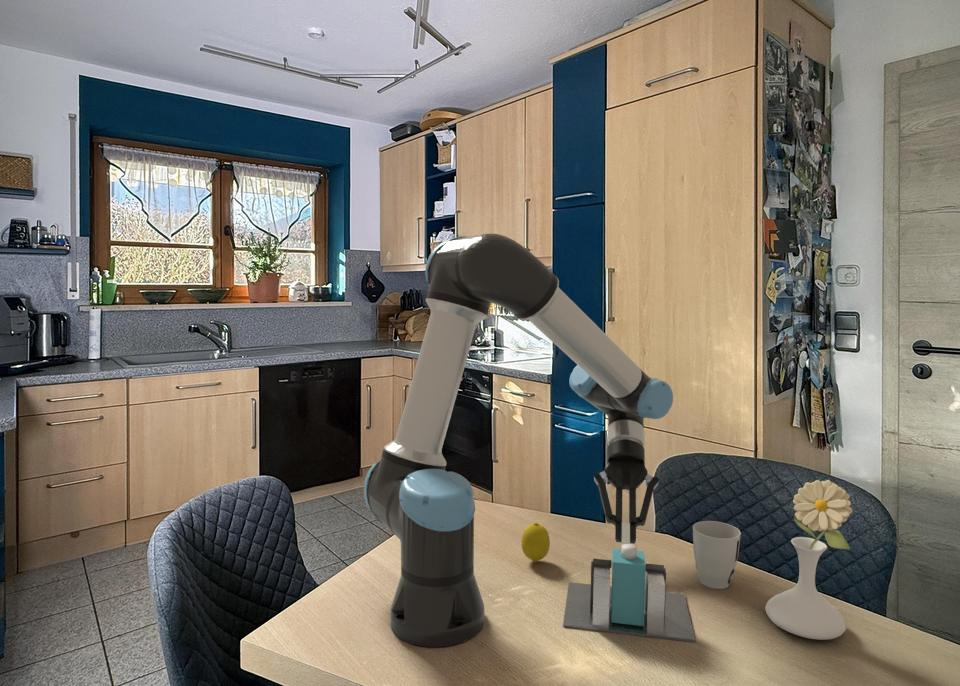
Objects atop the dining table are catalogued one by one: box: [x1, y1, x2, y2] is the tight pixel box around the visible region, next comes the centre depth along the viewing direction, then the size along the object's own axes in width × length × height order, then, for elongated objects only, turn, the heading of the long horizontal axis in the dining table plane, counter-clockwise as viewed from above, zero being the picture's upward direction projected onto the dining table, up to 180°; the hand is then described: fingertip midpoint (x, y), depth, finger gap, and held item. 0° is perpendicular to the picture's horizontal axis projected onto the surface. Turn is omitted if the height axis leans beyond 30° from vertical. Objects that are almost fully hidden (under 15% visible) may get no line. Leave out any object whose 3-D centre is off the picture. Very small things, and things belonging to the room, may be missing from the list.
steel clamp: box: [562, 558, 696, 643], centre depth 101 cm, size 20×14×9 cm
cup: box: [692, 520, 742, 590], centre depth 111 cm, size 8×8×10 cm
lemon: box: [520, 522, 551, 563], centre depth 119 cm, size 6×6×8 cm
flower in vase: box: [764, 479, 853, 641], centre depth 95 cm, size 13×11×25 cm
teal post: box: [611, 543, 647, 626], centre depth 98 cm, size 5×5×12 cm
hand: (625, 559), depth 112 cm, fingers closed
